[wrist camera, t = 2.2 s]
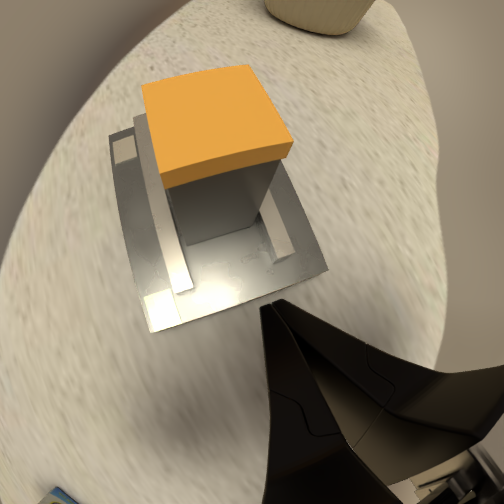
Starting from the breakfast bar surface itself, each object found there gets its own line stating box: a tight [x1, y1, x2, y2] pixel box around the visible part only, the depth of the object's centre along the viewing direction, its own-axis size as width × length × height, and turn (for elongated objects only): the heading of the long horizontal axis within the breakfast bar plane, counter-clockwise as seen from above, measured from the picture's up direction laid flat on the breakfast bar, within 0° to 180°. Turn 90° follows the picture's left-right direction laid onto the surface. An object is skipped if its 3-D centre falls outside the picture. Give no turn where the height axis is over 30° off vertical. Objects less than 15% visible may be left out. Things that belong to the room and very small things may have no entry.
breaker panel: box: [109, 113, 328, 333], centre depth 16 cm, size 14×11×4 cm
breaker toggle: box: [141, 65, 294, 246], centre depth 12 cm, size 4×4×8 cm
